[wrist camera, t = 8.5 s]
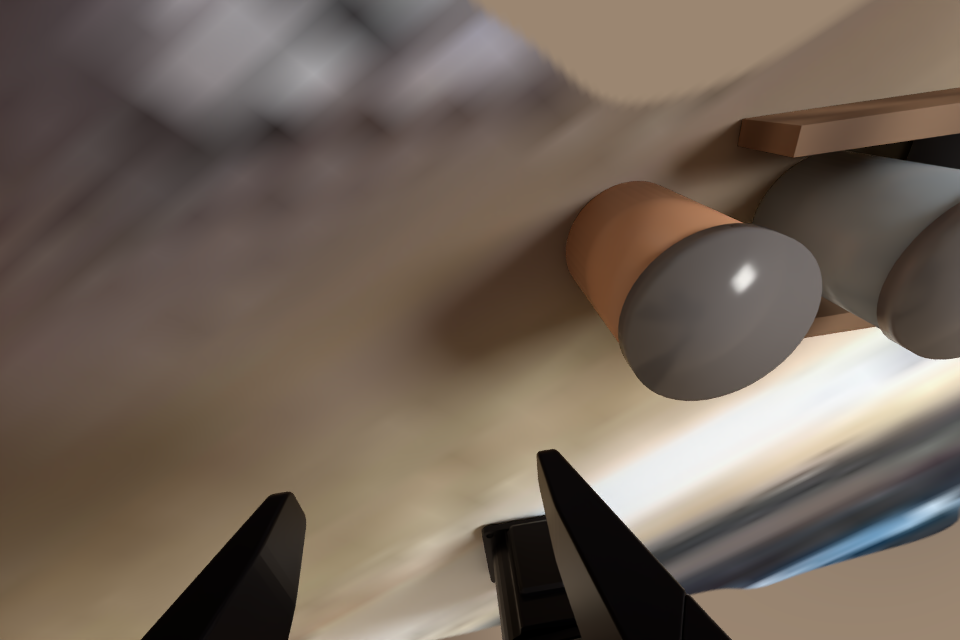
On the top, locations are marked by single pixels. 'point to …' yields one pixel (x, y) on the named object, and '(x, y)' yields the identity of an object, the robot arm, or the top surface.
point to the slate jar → (879, 241)
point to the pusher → (937, 151)
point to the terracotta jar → (691, 289)
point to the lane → (852, 131)
